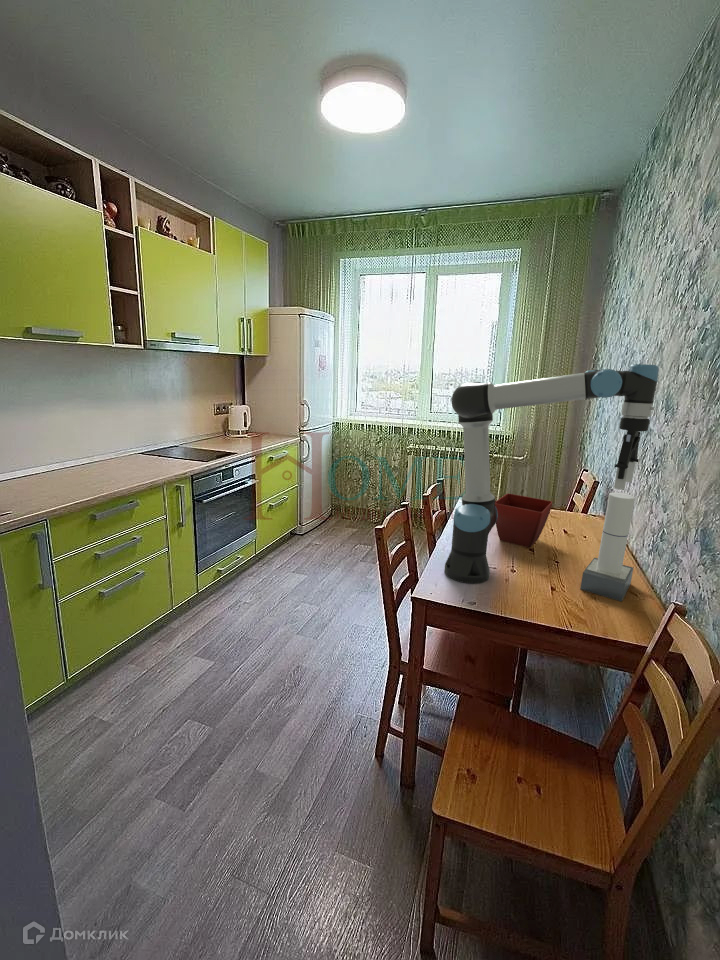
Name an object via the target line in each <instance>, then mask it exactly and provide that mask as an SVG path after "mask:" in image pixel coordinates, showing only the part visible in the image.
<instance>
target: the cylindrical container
mask: <svg viewBox="0 0 720 960" xmlns="http://www.w3.org/2000/svg"><path fill="white" fill-rule="evenodd" d="M607 499H608V500H607V505H606V511H605V517H604V523H603V527H602V531H601V533H602V534H601V538H600V539H601V540H600V544H599V550H598V556H597V558H598V561H597V568H598V569H600V570H602V571H604V572H608V573H614V574H617V573H621V570H622V565H624V558H625V553H626V549H627V548H626V547H627V544H628V543H627V542H628V538H629V533H630V532H629V531H630V528H631V522H632V521H631V520H632V516H633V511H634V505H635V500H636V496H634V495H632V494H629V493H623V492H609V493H608V497H607Z"/></svg>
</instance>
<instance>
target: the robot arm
mask: <svg viewBox="0 0 720 960" xmlns="http://www.w3.org/2000/svg"><path fill="white" fill-rule="evenodd" d="M659 371H660V368H659V366H658V365H656V364H647V363H646V364H641V363H640V364H638V363H634V364H633V363H632V364H631V365H630V366H629V368H628V370H614V369H613V368H612V369H611V368H606V369H605V368H604V369H588V370H586V371H585V372H580V373H573V374H566V375H565V374H564V375H557V376H551V377H544V378H543V377H542V378H536V379H531V380H530V379H529V380H522V381H516V382H515V381H514V382H506V383H501V384H500V383H499V384H493V383H492V382H491V381H490V382H481V381H473V382H465V383H461V385H459V386H458V387H457V388H456V389H454V392H453V393H452V396H451V406H452V409H453V411H454V412H455V413H456V414H457V416H458V417H457V418H458V424H459V425H461V426H462V428H463V429H462V431H463V433H462V434H463V451H464V452H463V454H464V457H463V458H464V475H465V476H464V477H465V478H464V479H465V482H464V483H465V484H464V485H465V493H464V494H463V496H461V505H459V506H458V507H456V509H455V510H454V514H453V524H452V525H453V526H452V535H451V536H452V537H451V550H450V553H449V555H448V556H447V559H446V561H445V564H444V569H443V570H444V571H443V572H444V574H445V576H447V577H448V578H450V579H451V580H454V581H457V582H461V583H466V584H480V583H485V582H487V581H488V580H489V579H490V566H489V561H488V557H487V549H488V540H489V535H490V533H491V532H492V529H493V528H494V526H496V520H497V517H498V513H497V509H496V506H495V501H496V497H495V495H494V494H493V493H491V477H490V476H491V473H490V471H491V470H490V468H491V466H490V463H491V462H490V437H489V435H490V434H489V433H490V431H489V426H490V424H491V423H492V422H493V420H494V417H493V416H494V415H493V414H494V413H495V411H497V410H503V409H504V410H505V409H513V408H519V407H520V408H521V407H528V406H530V407H531V406H539V405H548V404H554V403H555V404H556V403H565V402H572V401H580V400H590V399H599V398H602V399H607V398H611V397H612V398H613V397H624V399H623V403H622V409H621V415H622V417H621V418H620V421H619V427H618V428H619V429H620V430H622V431H623V430H624V431H627V432H626V434H625V433H624V435H623V438H622V445H621V448H620V452H619V455H618V459H617V463H615V464H614V468H616V473H615V480H614V484H613V486H614V487H613V489H615V490H621V491H625V488H626V483H633V479H634V473H635V467H636V463H638V462H639V460H640V459H639V458H638V452H639V445H640V440H641V436H640V435H641V432H648V431H649V426H650V421H651V420H650V417H651V415H652V411H655V407H654V406H653V404H654V400H655V394H656V389H657V385H658V379H659V378H658V377H659Z"/></svg>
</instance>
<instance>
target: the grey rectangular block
mask: <svg viewBox="0 0 720 960" xmlns="http://www.w3.org/2000/svg"><path fill="white" fill-rule="evenodd" d="M597 561H598V557H593V559H592V560H591V561H590V562H589V564H588V565H587V566H586V568H585V569H584V571H583V572H582V576H581V582H580V587H579V588H580V590H581V591H585V592H589V593H590V594H591V593H592V594H595V595H599V596H601V597H605V598H609V599H612V600H615V601H619V602H620V603H621V602H622V603H623V600H624V598H625V596H626V594H627V593H628V590H629V588H630V586H631V583H632V579H633V573H634V566H629V565H624V564H623V565H622V570H621V573H617V574H614V573H608V572H604V571H602V570H600V569H598V568H597Z"/></svg>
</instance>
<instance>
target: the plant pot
mask: <svg viewBox="0 0 720 960" xmlns="http://www.w3.org/2000/svg"><path fill="white" fill-rule="evenodd" d="M495 506H496V509H497V513H498V517H497V520H496V523H495V527H496V531H497V536H498V539H499V541H501V542H502V543H503V542H504V543H508V544H512V545H516V546H519V547H520V546H521V547H524V548H532V547H533V545H535V543H536V542H537V541H538V540H539V539H540V538H539V537H540V536H541V534H542V532H543V530H544V527H545V526H546V524H547V520H548V517H549V515H550V513H551V509H552V506H553V501H551V500H547V499H542V498H535V497H530V496H525V495H519V494H514V493H506V494H504V495H502V496H501V497H500V498H498V499H497V500H495Z"/></svg>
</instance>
